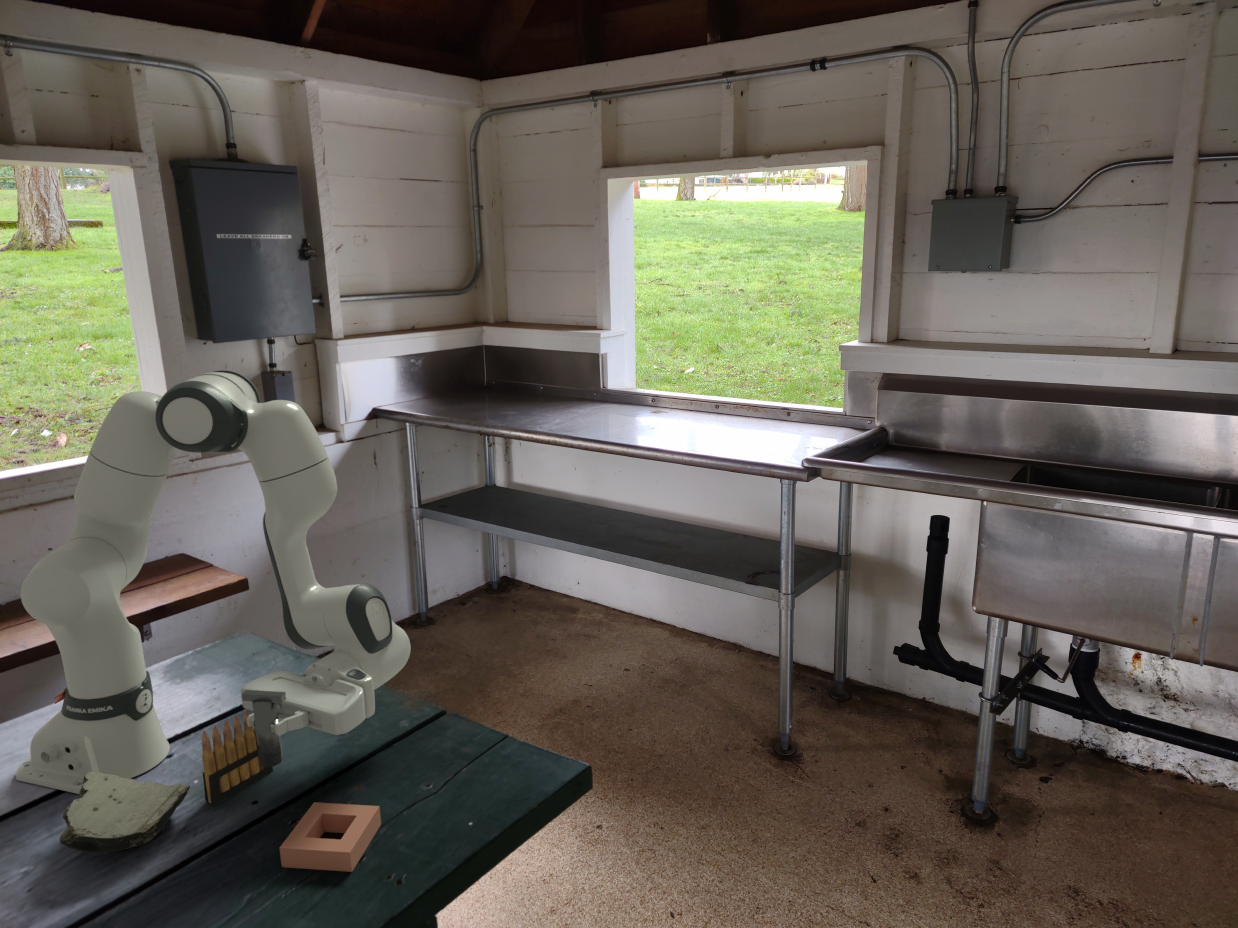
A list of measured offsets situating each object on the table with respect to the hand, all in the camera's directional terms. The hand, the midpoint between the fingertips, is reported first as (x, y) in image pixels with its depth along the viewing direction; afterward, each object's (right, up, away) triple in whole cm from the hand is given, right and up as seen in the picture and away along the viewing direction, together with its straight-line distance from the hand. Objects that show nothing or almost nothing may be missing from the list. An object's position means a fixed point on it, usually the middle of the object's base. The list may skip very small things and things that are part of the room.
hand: (262, 726), depth 122 cm
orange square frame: (+11, -16, -3) cm, 20 cm away
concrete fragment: (-20, -16, -1) cm, 26 cm away
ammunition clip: (-8, -13, +11) cm, 19 cm away
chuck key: (0, -6, +2) cm, 6 cm away
